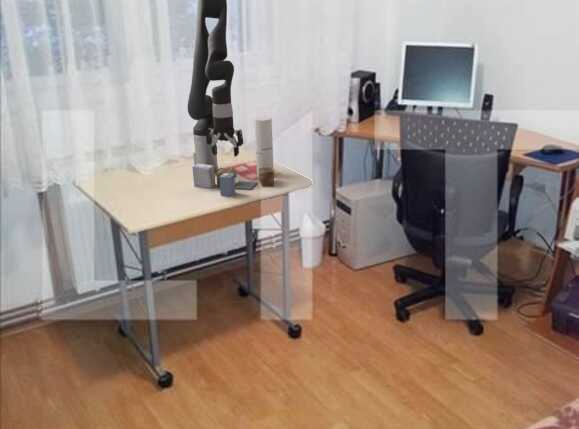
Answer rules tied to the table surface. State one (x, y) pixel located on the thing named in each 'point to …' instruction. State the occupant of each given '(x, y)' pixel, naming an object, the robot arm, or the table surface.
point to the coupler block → (227, 184)
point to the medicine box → (204, 175)
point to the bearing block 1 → (221, 171)
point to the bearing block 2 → (266, 176)
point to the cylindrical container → (263, 142)
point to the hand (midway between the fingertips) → (225, 155)
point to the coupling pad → (245, 185)
